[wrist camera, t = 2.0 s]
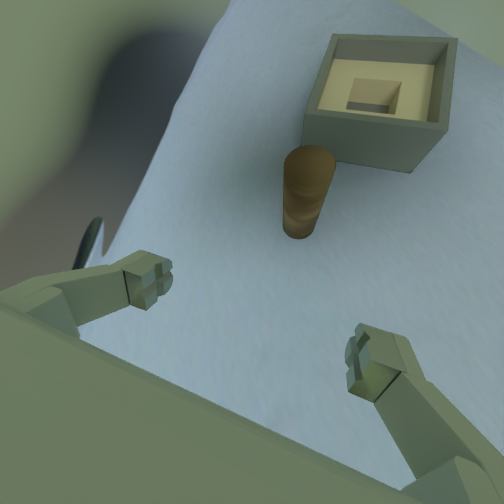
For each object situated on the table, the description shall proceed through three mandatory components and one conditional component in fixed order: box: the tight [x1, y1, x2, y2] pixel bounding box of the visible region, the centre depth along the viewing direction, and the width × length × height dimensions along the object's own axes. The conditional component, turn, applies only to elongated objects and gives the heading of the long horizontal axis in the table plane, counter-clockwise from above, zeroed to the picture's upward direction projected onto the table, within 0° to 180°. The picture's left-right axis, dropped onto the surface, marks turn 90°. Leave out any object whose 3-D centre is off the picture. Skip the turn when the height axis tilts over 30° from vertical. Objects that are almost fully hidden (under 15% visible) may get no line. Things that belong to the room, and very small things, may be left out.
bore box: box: [301, 34, 458, 173], centre depth 30 cm, size 16×16×7 cm
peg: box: [283, 145, 336, 239], centre depth 24 cm, size 4×4×12 cm
